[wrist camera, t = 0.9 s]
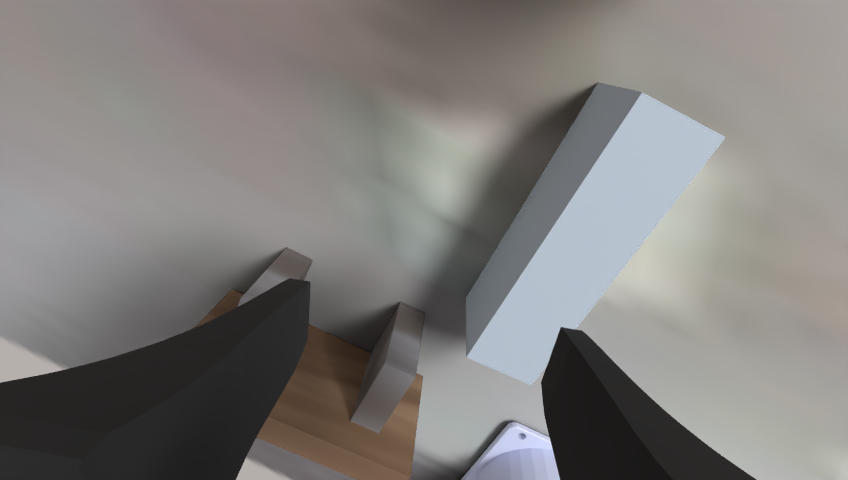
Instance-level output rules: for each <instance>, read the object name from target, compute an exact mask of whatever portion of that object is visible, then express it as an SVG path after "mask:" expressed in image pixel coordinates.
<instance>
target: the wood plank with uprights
mask: <svg viewBox="0 0 848 480" xmlns="http://www.w3.org/2000/svg"><path fill="white" fill-rule="evenodd" d="M311 263H312V260H311V259H309V258H307V257H305V256H303V255H301V254H299V253H297V252H295V251H293V250H290V249H288V248H286V249H285V250H284V251H283V252H282V253H281V254H280V255H279V256H278V258H277V259H276V260H275V261H274V262H273V263H272V264H271V265H270V266H269V267H268V269H267V270H266V271H265V272H264V273H263V274H262V275H261V276H260V277H259V279H258V280H257V281H256V282H255V283H254V284H253V285H252V286H251V287H250V288H249V290H248V291H247V292H246V293H245V294H244V295H243V294H241V293H239V292H237V291H235V290H231V291H230V292H229V293H228V294H227V295H226V296H225V297H224V298H223V299H222V300H221V301H220V302H219V303H218V304H217V305H216V306H215V307H214V308H213V309H212V310H211V311H210V312H209V314H208V315H207V316H206V317H205V318H204V319H203V320H202V321H201V322H200V323H199V324H198V325H197V326H196V327H198V326H200V325H202V324H204V323H206V322H209V321H211V320H213V319H215V318H217V317H219V316H221V315H223V314H225V313H227V312H229V311H231V310H233V309H235V308H237V307H238V306H240V305H242V304H244V303H246V302H248V301H249V300H251V299H253V298H255V297H257V296H258V295H260V294H262V293H264V292H265V291H267V290H269V289H271V288H272V287H274V286H276V285H278V284H279V283H281V282H283V281H285V280H287V279H289V278H292V279H297V280H303V281H304V279H305V276H306V274H307V272H308V270H309V267H310V265H311ZM424 316H425V313H423V312H421V311H418V310H416V309H414V308H412V307H410V306H408V305H406V304H404V303H402V302H400V304H399V305H398V307H397V309H396V310H395V312H394V314H393V316H392V317H391V319H390V321H389V323H388V324H387V326H386V328H385V330H384V331H383V333H382V335H381V336H380V338H379V340H378V342H377V343H376V345H375V347H374V349H373V350H372V352H371V353H370V352H368V351H366V350H364V349H362V348H359V347H357V346H355V345H353V344H351V343H348V342H346V341H344V340H342V339H340V338H337V337H335V336H333V335H331V334H329V333H327V332H324V331H322V330H320V329H318V328H316V327H313V326H311V325H309V324H308V340H307V342H306V345H305V347H304V350H303V352H302V355H301V357H300V360H299V362H298V364H297V367H296V369H295V371H294V373H293V375H292V376H291V378H290V380H289V382H288V383H287V385H286V387H285V389H284V390H283V392H282V394H281V396H280V397H279V399H278V401H277V402H276V404H275V406H274V408H273V409H272V411H271V413H270V414H269V416H268V418H267V420H266V421H265V423H264V425H263V426H262V428H261V430H260V432H259V433H258V435H257V438H259V439H261V440H264V441H266V442H269V443H271V444H273V445H276V446H278V447H281V448H283V449H285V450H288V451H290V452H293V453H295V454H297V455H300V456H302V457H305V458H307V459H309V460H312V461H314V462H316V463H319V464H321V465H324V466H326V467H328V468H331V469H333V470H336V471H338V472H340V473H343V474H345V475H348V476H350V477H352V478H355V479H357V480H409V478H410V477H411V469H412V461H413V453H414V445H415V437H416V429H417V421H418V413H419V405H420V397H421V389H422V381H423V376H421V375H418V374H416V371H417V364H418V357H419V350H420V344H421V337H422V330H423V323H424ZM196 327H195V328H196Z"/></svg>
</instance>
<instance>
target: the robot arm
mask: <svg viewBox="0 0 848 480" xmlns="http://www.w3.org/2000/svg"><path fill="white" fill-rule="evenodd" d="M309 302H310V282H308V281H303V280H297V279H292V278H289V279H287V280H285V281H283V282H281V283H279V284H278V285H276V286H274V287H272V288H271V289H269V290H267V291H265V292H264V293H262V294H260V295H258V296H257V297H255V298H253V299H251V300H249V301H248V302H246V303H244V304H242V305H240V306H238V307H237V308H235V309H233V310H231V311H229V312H227V313H225V314H223V315H221V316H219V317H217V318H215V319H213V320H211V321H209V322H206V323H204V324H202V325H200V326H198V327H196V328H193V329H191V330H189V331H186V332H184V333H182V334H179V335H176V336H174V337H171V338H169V339H166V340H164V341H161V342H158V343H156V344H153V345H150V346H146V347H143V348H140V349H137V350H134V351H131V352H128V353H125V354H122V355H119V356H116V357H112V358H109V359H105V360H101V361H98V362H94V363H90V364H87V365H83V366H78V367H74V368H70V369H66V370H62V371H58V372H53V373H49V374H44V375H39V376H33V377H28V378H23V379H18V380H12V381H8V382H2V383H0V480H236V478H237V475H238V473H239V471H240V469H241V467H242V465H243V462H244V460H245V458H246V456H247V454H248V452H249V450H250V448H251V446H252V444H253V442H254V440H255V438H256V437H257V435H258V433H259V432H260V430H261V428H262V426H263V425H264V423H265V421H266V420H267V418H268V416H269V414H270V413H271V411H272V409H273V408H274V406H275V404H276V402H277V401H278V399H279V397H280V396H281V394H282V392H283V390H284V389H285V387H286V385H287V383H288V382H289V380H290V378H291V376H292V375H293V373H294V371H295V369H296V367H297V364H298V362H299V360H300V357H301V355H302V352H303V350H304V347H305V345H306V342H307V340H308V322H309ZM541 385H542V396H543V406H544V414H545V419H546V424H547V428H548V432H549V436H550V437H547V436H545V435H543V434H541V433H539V432H536V431H534V430H532V429H530V428H528V427H526V426H523V425H521V424H519V423H516V422H512V423H509V424H508V425H507V426H506V427H505V428H504V429H503V430H502V432H501V433H500V434H499V435H498V436H497V438H496V439H495V440H494V441H493V442H492V443H491V445H490V446H489V447H488V448H487V449H486V451H485V452H484V453H483V454H482V455H481V457H480V458H479V459H478V460H477V461H476V462H475V464H474V465H473V466H472V467H471V468H470V470H469V471H468V472H467V473H466V474H465V475H464V477H463V478H462V479H461V480H756V479H755V478H753V477H751V476H750V475H749V474H747V473H746V472H744V471H743V470H741V469H740V468H738V467H737V466H736V465H734V464H733V463H731V462H730V461H728V460H727V459H726V458H724V457H723V456H721V455H720V454H719V453H717V452H716V451H714V450H713V449H712V448H710V447H709V446H708V445H706V444H705V443H704V442H702V441H701V440H700V439H699V438H697V437H696V436H695V435H694V434H692V433H691V432H690V431H689V430H687V429H686V428H685V427H684V426H682V425H681V424H680V423H679V422H677V421H676V420H675V419H674V418H673V417H671V416H670V415H669V414H668V413H667V412H666V411H665V410H663V409H662V408H661V407H660V406H659V405H658V404H657V403H656V402H655V401H654V400H652V399H651V398H650V397H649V396H648V395H647V394H646V393H645V392H644V391H643V390H642V389H641V388H640V387H638V386H637V385H636V384H635V383H634V382H633V381H632V380H631V379H630V378H629V377H628V376H627V375H626V374H625V373H624V372H623V371H622V370H621V369H620V368H619V367H618V366H617V365H616V364H615V363H614V362H613V361H612V360H611V359H610V358H609V357H608V356H607V355H606V353H605V352H604V351H603V350H602V349H601V348H600V347H599V346H598V345H597V344H596V343H595V342H594V341H593V340H592V339H591V338H590V337H589V336H588V335H586V334H585V333H584V332H583V331H580V330H575V329H569V328H564V327H561V328H560V331H559V333H558V336H557V339H556V342H555V345H554V348H553V350H552V353H551V356H550V359H549V362H548V365H547V367H546V370H545V373H544V376H543V379H542V382H541ZM520 433H524V434H520Z"/></svg>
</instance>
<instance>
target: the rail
mask: <svg viewBox="0 0 848 480" xmlns="http://www.w3.org/2000/svg"><path fill="white" fill-rule="evenodd" d="M725 138H726V137H724V136H722V135H720V134H719V133H717V132H715V131H713V130H711V129H709V128H707V127H706V126H704V125H702V124H700V123H698V122H696V121H694V120H693V119H691V118H689V117H687V116H685V115H683V114H681V113H680V112H678V111H676V110H674V109H672V108H670V107H668V106H667V105H665V104H663V103H661V102H659V101H657V100H655V99H654V98H652V97H650V96H648V95H646V94H644V93H642V92H638V91H634V90H629V89H625V88H621V87H616V86H612V85H607V84H603V83H599V82H598V83H597V85H596V87H595V88H594V90H593V92H592V93H591V95H590V96H589V98H588V100H587V101H586V103H585V105H584V106H583V108H582V109H581V111H580V113H579V114H578V116H577V118H576V119H575V121H574V122H573V124H572V126H571V127H570V129H569V131H568V132H567V134H566V136H565V137H564V139H563V140H562V142H561V144H560V145H559V147H558V149H557V150H556V152H555V153H554V155H553V157H552V158H551V160H550V162H549V163H548V165H547V166H546V168H545V170H544V171H543V173H542V175H541V176H540V178H539V180H538V181H537V183H536V184H535V186H534V188H533V189H532V191H531V193H530V194H529V196H528V197H527V199H526V201H525V202H524V204H523V206H522V207H521V209H520V210H519V212H518V214H517V215H516V217H515V219H514V220H513V222H512V224H511V225H510V227H509V228H508V230H507V232H506V233H505V235H504V237H503V238H502V240H501V241H500V243H499V245H498V246H497V248H496V250H495V251H494V253H493V254H492V256H491V258H490V259H489V261H488V263H487V264H486V266H485V267H484V269H483V271H482V272H481V274H480V276H479V277H478V279H477V281H476V282H475V284H474V285H473V287H472V289H471V290H470V292H469V294H468V295H467V297H466V357H467V358H469V359H472V360H474V361H476V362H478V363H481V364H483V365H485V366H488V367H490V368H492V369H494V370H497V371H499V372H501V373H503V374H506V375H508V376H510V377H513V378H515V379H517V380H519V381H522V382H524V383H526V384H528V385H531V386H532V384H533V383H534V382H535V380H536V379H537V378H538V377H539V375H540V374H541V373H542V371H543V370H544V369H545V368H546V366H547V365H548V362H549V359H550V356H551V353H552V350H553V348H554V345H555V342H556V339H557V336H558V333H559V331H560V328H561V327H564V328H569V329H576V328H577V327H578V325H579V324H580V323H581V322H582V320H583V319H584V318H585V317H586V315H587V314H588V313H589V311H590V310H591V309H592V308H593V306H594V305H595V304H596V302H597V301H598V300H599V299H600V297H601V296H602V295H603V294H604V292H605V291H606V290H607V288H608V287H609V286H610V285H611V283H612V282H613V281H614V279H615V278H616V277H617V276H618V274H619V273H620V272H621V271H622V269H623V268H624V267H625V265H626V264H627V263H628V262H629V260H630V259H631V258H632V256H633V255H634V254H635V253H636V251H637V250H638V249H639V247H640V246H641V245H642V244H643V242H644V241H645V240H646V239H647V237H648V236H649V235H650V233H651V232H652V231H653V230H654V228H655V227H656V226H657V224H658V223H659V222H660V221H661V219H662V218H663V217H664V216H665V214H666V213H667V212H668V210H669V209H670V208H671V207H672V205H673V204H674V203H675V201H676V200H677V199H678V198H679V196H680V195H681V194H682V193H683V191H684V190H685V189H686V187H687V186H688V185H689V184H690V182H691V181H692V180H693V178H694V177H695V176H696V175H697V173H698V172H699V171H700V170H701V168H702V167H703V166H704V164H705V163H706V162H707V161H708V159H709V158H710V157H711V155H712V154H713V153H714V152H715V150H716V149H717V148H718V147H719V145H720V144H721V143H722V141H723V140H724V139H725Z"/></svg>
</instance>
